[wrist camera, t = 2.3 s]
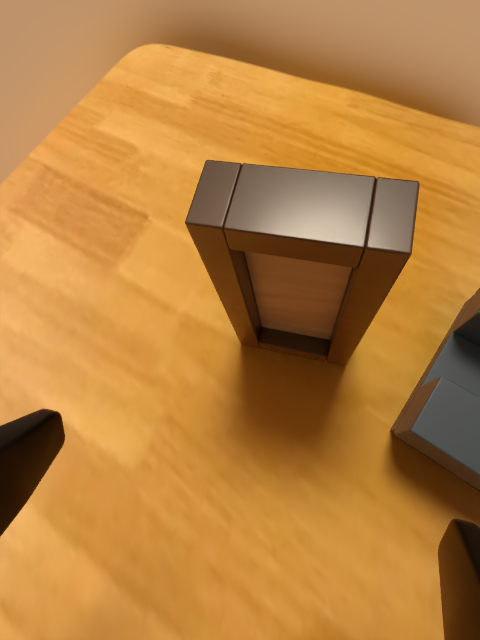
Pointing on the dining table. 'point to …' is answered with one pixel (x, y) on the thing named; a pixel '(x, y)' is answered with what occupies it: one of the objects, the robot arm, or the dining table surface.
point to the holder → (449, 401)
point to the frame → (301, 252)
